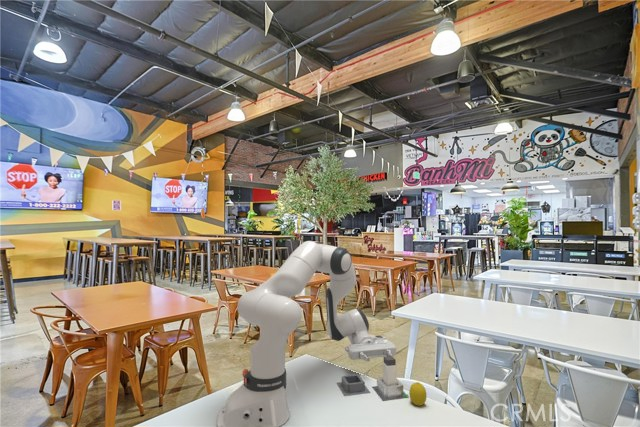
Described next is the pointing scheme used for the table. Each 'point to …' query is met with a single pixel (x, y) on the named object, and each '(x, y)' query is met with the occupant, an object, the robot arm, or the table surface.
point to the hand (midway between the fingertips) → (379, 358)
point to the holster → (352, 385)
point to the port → (390, 391)
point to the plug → (389, 371)
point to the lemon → (417, 394)
